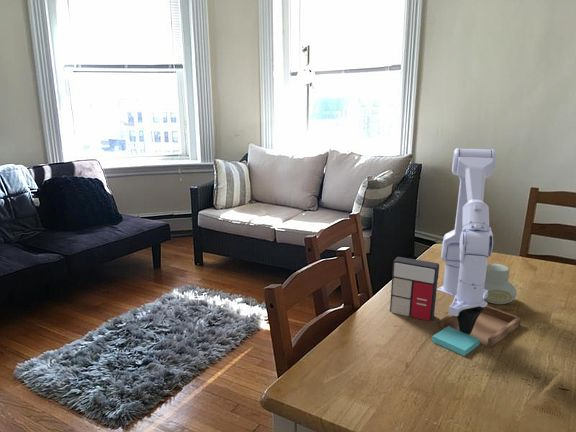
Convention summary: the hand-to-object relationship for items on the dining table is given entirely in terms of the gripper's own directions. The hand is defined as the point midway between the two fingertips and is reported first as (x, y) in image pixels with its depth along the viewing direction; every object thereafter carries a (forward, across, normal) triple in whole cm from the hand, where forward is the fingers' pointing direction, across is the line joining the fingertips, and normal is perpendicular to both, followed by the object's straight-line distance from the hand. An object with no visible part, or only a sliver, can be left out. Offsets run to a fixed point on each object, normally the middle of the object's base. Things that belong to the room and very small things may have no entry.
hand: (465, 333), depth 106 cm
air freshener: (+2, +26, +5) cm, 26 cm away
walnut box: (+1, +8, 0) cm, 8 cm away
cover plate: (+2, -4, 0) cm, 5 cm away
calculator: (+2, 0, +15) cm, 15 cm away
